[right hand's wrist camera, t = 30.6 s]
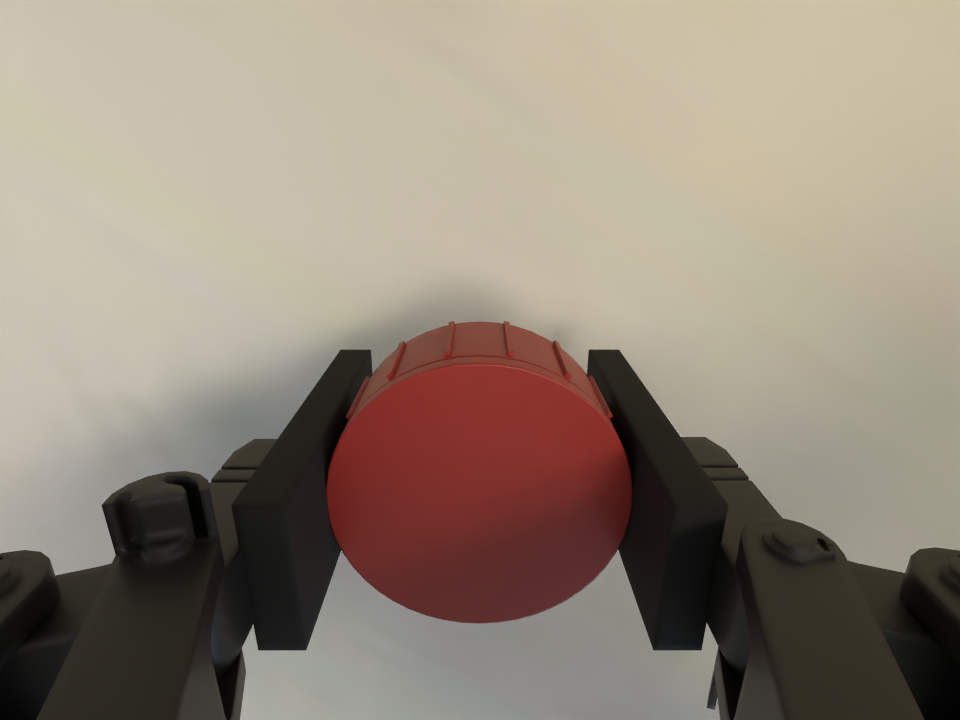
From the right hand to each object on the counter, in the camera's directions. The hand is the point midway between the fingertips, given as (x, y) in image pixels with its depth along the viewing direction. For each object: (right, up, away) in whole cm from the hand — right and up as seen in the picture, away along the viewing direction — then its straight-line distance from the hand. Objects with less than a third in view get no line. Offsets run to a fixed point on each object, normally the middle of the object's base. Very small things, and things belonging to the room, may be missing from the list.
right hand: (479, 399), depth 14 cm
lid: (0, -2, -4) cm, 4 cm away
